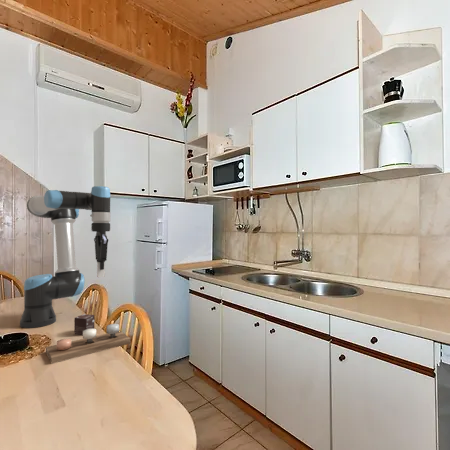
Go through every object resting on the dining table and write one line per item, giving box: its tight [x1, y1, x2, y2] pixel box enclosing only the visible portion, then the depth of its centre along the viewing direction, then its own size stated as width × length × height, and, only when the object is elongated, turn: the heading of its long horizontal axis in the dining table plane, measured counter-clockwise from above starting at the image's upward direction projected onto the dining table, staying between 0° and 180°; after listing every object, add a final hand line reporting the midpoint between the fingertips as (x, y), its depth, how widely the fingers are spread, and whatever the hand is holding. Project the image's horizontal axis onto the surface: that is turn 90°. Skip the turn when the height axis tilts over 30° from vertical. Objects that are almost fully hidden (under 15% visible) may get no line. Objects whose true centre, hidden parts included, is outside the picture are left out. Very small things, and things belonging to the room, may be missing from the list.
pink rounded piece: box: [56, 338, 72, 351], centre depth 111 cm, size 5×5×4 cm
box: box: [73, 313, 95, 336], centre depth 134 cm, size 6×6×7 cm
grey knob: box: [106, 323, 120, 337], centre depth 122 cm, size 5×5×4 cm
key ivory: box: [82, 328, 97, 343], centre depth 117 cm, size 5×5×4 cm
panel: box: [45, 330, 131, 364], centre depth 117 cm, size 12×28×2 cm, turn 129°
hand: (101, 276), depth 129 cm, fingers closed
